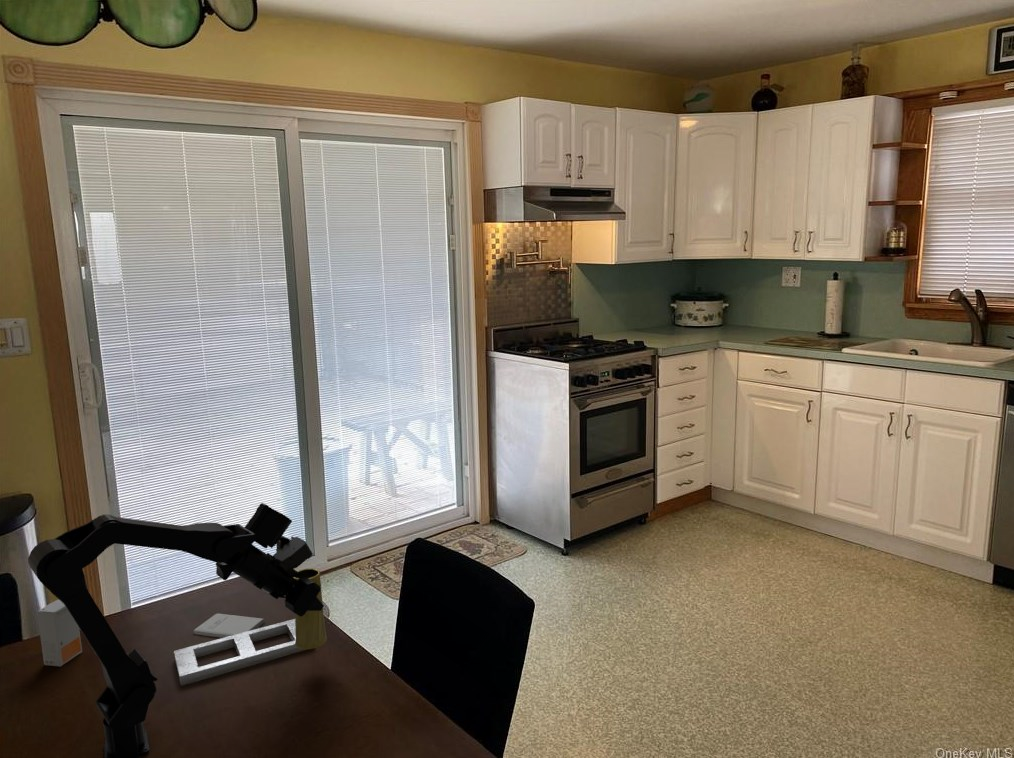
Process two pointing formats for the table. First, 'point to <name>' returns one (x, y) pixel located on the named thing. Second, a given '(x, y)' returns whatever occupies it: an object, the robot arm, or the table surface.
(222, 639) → the grey flat frame
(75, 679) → the table surface
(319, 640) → the vase
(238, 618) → the external hard drive
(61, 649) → the skincare box
